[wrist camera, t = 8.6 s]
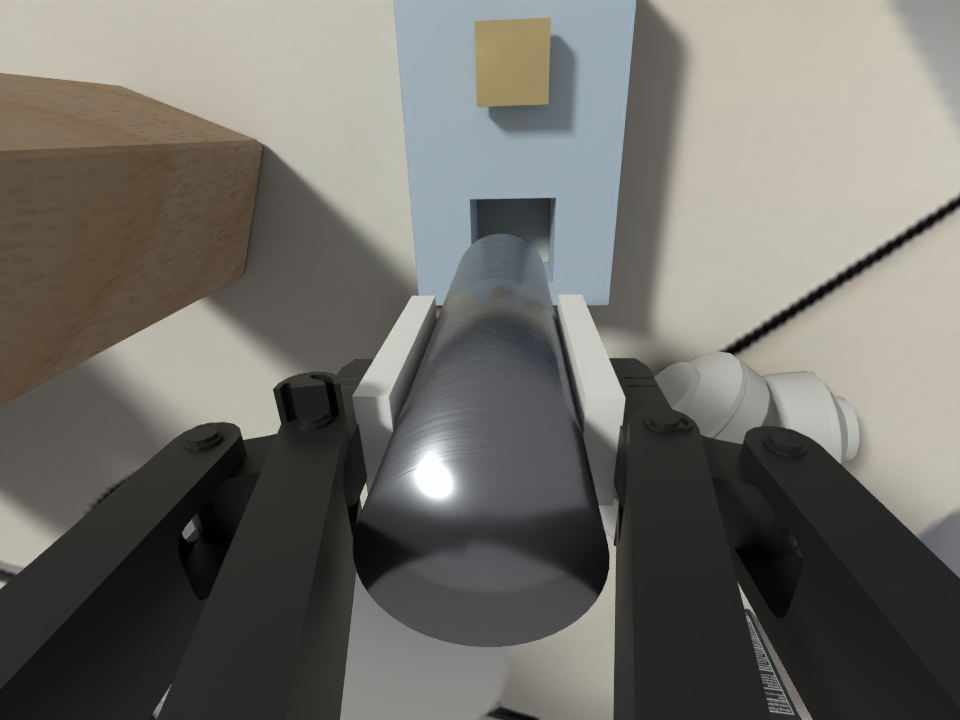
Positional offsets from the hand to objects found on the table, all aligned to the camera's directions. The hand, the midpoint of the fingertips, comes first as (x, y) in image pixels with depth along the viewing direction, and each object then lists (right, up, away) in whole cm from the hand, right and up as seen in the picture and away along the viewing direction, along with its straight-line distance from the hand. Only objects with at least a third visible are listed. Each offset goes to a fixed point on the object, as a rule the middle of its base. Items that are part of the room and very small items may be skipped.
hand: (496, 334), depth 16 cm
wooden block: (-21, +11, +18) cm, 30 cm away
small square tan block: (+1, +16, +13) cm, 21 cm away
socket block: (+2, +13, +15) cm, 20 cm away
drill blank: (0, +3, +6) cm, 7 cm away
